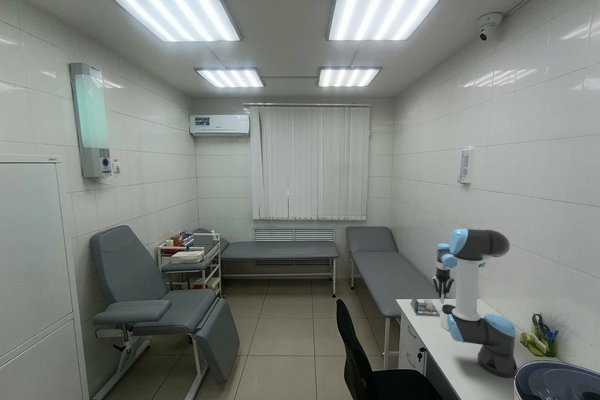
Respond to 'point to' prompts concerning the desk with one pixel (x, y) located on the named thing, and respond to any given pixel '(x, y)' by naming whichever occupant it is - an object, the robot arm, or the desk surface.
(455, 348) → the desk surface
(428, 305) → the block
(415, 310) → the bench
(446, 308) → the jar
